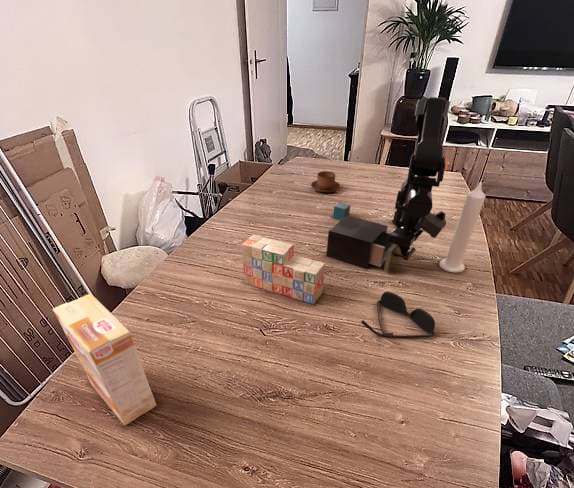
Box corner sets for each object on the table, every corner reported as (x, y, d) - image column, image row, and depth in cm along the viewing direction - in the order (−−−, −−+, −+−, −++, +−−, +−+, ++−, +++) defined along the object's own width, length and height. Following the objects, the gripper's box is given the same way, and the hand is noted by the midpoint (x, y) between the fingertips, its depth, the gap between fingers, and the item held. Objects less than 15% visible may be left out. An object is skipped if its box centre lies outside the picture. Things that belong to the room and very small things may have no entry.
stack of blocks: (322, 293, 102) (326, 252, 93) (313, 305, 98) (316, 264, 89) (255, 272, 109) (253, 233, 101) (243, 283, 105) (240, 243, 97)
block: (338, 213, 139) (339, 202, 136) (349, 216, 138) (350, 205, 135) (332, 218, 137) (333, 206, 134) (343, 221, 135) (345, 209, 132)
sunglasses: (344, 323, 92) (346, 307, 89) (381, 301, 99) (385, 285, 96) (399, 361, 83) (404, 345, 79) (436, 334, 90) (442, 318, 86)
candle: (465, 274, 109) (498, 188, 93) (440, 271, 110) (468, 185, 94) (462, 261, 115) (492, 178, 98) (438, 259, 116) (464, 176, 99)
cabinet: (382, 251, 119) (387, 225, 113) (366, 269, 111) (371, 242, 105) (344, 239, 124) (347, 215, 119) (326, 256, 116) (328, 230, 111)
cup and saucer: (307, 185, 160) (307, 170, 156) (333, 183, 163) (334, 168, 159) (317, 196, 151) (317, 180, 147) (344, 193, 154) (345, 177, 150)
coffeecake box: (89, 383, 77) (50, 308, 64) (122, 365, 81) (91, 291, 68) (123, 427, 69) (87, 352, 56) (158, 405, 73) (131, 330, 60)
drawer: (414, 259, 114) (420, 238, 109) (401, 276, 107) (407, 255, 102) (363, 244, 120) (367, 224, 116) (348, 259, 113) (351, 238, 109)
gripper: (436, 222, 89) (420, 278, 100) (457, 197, 101) (440, 249, 111) (392, 211, 94) (381, 265, 104) (417, 188, 105) (404, 239, 116)
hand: (403, 254), depth 109 cm, fingers closed, pressing on drawer
